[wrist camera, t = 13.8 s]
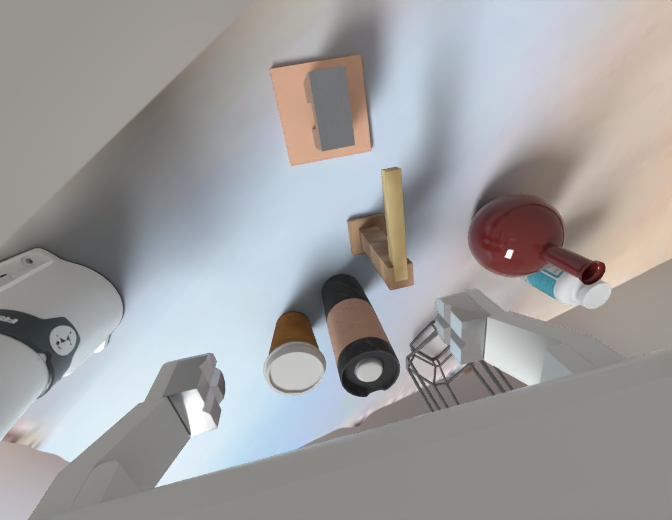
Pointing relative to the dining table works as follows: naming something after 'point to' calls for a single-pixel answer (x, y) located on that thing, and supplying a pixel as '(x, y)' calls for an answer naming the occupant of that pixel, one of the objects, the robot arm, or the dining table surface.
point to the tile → (300, 113)
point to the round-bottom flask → (525, 240)
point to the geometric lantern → (421, 378)
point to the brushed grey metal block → (330, 108)
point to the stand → (372, 235)
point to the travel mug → (358, 338)
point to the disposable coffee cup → (294, 357)
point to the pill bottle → (569, 288)
